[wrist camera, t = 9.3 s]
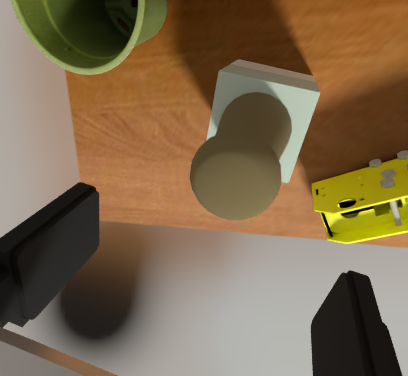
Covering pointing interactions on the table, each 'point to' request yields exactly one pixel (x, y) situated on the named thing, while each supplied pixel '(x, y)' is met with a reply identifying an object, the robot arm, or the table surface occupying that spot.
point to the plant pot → (89, 30)
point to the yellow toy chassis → (365, 201)
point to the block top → (277, 87)
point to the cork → (242, 158)
